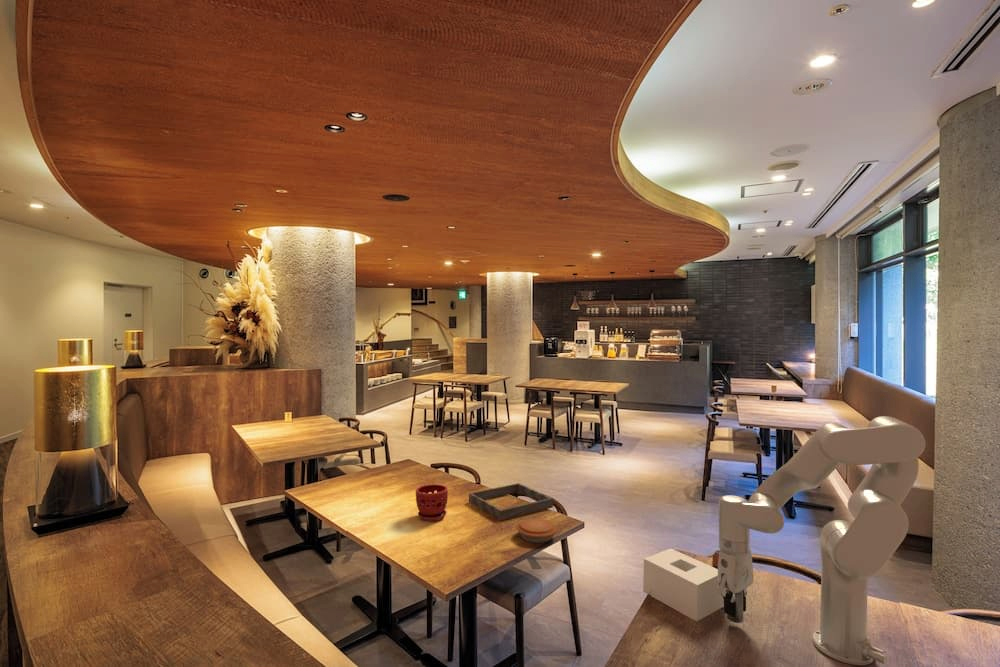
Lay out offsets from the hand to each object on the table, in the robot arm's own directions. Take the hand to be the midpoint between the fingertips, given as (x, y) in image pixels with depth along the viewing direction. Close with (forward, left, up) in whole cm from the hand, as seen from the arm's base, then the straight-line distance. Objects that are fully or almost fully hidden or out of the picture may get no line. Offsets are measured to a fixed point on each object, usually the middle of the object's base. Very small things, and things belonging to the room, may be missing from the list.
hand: (735, 611), depth 132 cm
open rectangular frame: (+105, -2, -4) cm, 105 cm away
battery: (+14, -19, -4) cm, 23 cm away
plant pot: (+111, +34, -4) cm, 116 cm away
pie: (+73, +9, -4) cm, 73 cm away
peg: (0, 0, -2) cm, 2 cm away
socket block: (+16, 0, -4) cm, 16 cm away
